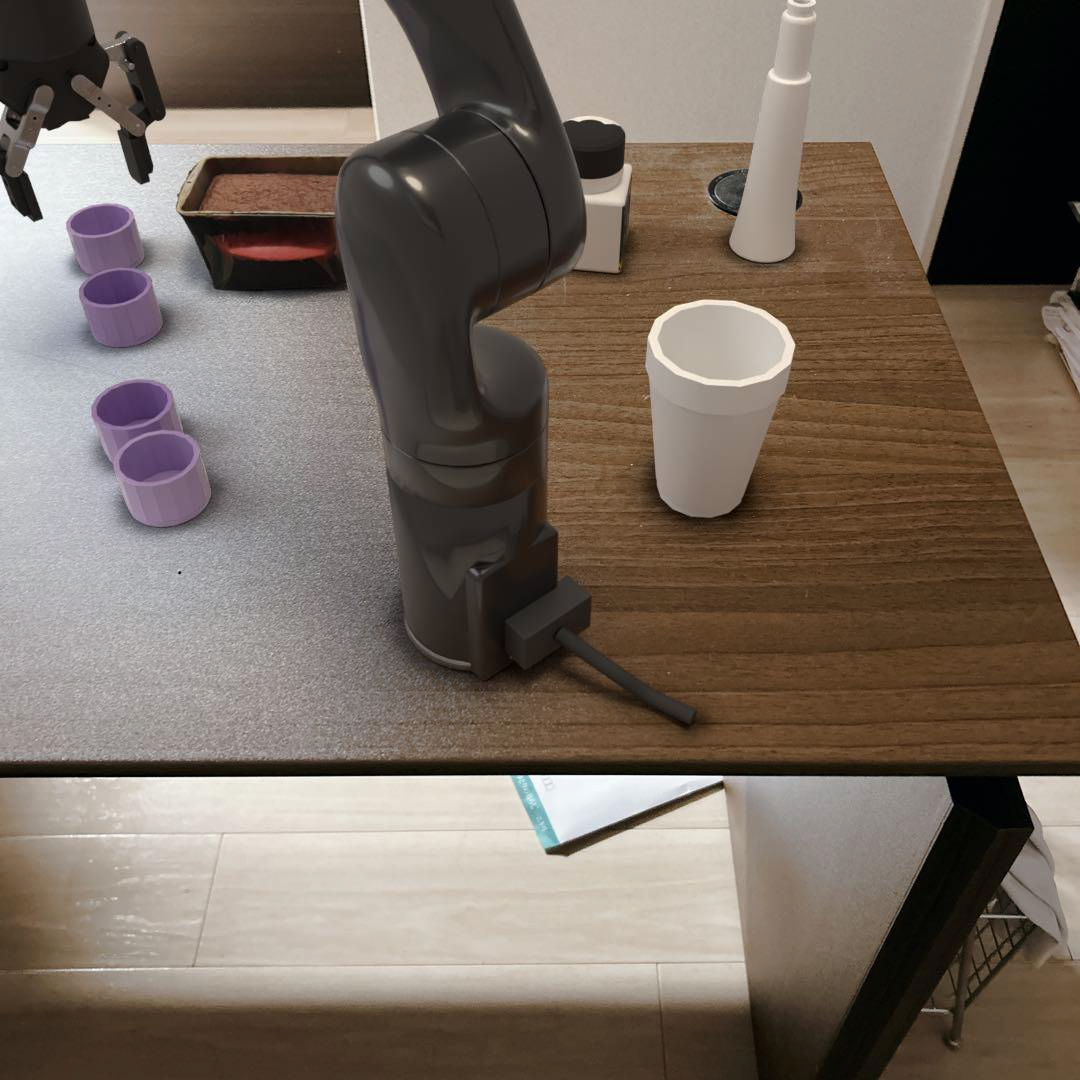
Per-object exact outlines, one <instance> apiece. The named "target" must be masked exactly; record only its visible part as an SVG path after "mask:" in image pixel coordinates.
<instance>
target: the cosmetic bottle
mask: <svg viewBox="0 0 1080 1080" xmlns="http://www.w3.org/2000/svg"><path fill="white" fill-rule="evenodd" d="M816 6H817V1H816V0H787V1H786V9H785V10H784V11H783V12H782V14H781V18H780V26H779V30H778V31H779V32H778V39H777V45H776V51H775V58H774V64H773V67H772V68H771V69H770V70H769V71H768V72H767V76H766V79H765V80H766V81H765V84H764V89H763V94H762V99H761V105H760V108H759V115H758V118H757V119H758V120H757V125H756V129H755V135H754V141H753V146H752V151H751V156H750V161H749V164H748V170H747V175H746V180H745V185H744V190H743V193H742V197H741V200H740V204H739V209H738V212H737V216H736V219H735V222H734V225H733V227H732V232H731V234H730V236H729V241H728V243H729V247H730V248H731V250H732V252H734V253H735V254H736V255H737V256H739V257H740V258H743V259H745V260H748V261H751V262H756V263H764V264H765V263H767V264H769V263H777V262H781V261H783V260H786V259H788V258H789V257H790V256H791V255H792V254H793V253H794V251H795V249H796V213H797V199H798V188H799V179H800V172H801V171H800V170H801V164H802V157H803V156H802V155H803V149H804V143H805V142H804V141H805V133H806V126H807V119H808V110H809V104H810V95H811V86H812V74H811V73H810V72H809V67H810V60H811V54H812V48H813V43H814V38H815V37H814V36H815V33H816V32H815V31H816V24H817V20H818V18H817V13H816V11H814V10H815V9H816Z"/></svg>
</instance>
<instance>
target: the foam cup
mask: <svg viewBox="0 0 1080 1080" xmlns="http://www.w3.org/2000/svg"><path fill="white" fill-rule="evenodd" d="M795 349H796V343H795V340H794V338H793V337H792V335H791V333H790V331H789V329H788V327H787V325H786V324H784V323H783V322H782V321H780V320H779V319H777V318H776V317H774V316H773V315H772V314H770V313H769V312H767V311H766V310H765V309H762V308H759V307H756V306H752V305H749V304H746V303H742V302H739V301H736V300H723V299H722V300H721V299H699V300H694V301H690V302H687V303H686V302H685V303H681V304H677V305H674V306H673V307H671V308H670V309H668V310H667V311H666V312H663V314H661V315H659V316H658V317H656V318H655V319H654V321H653V324H652V326H651V329H650V332H649V333H648V336H647V342H646V353H645V354H646V355H645V364H644V365H645V366H644V367H645V370H646V373H647V376H648V383H649V397H650V412H651V424H652V438H653V440H652V441H653V453H654V455H653V456H654V469H655V479H656V487H657V490H658V494H659V496H660V499H661V500H662V501H663V502H665V504H667V506H668V507H670V508H671V509H672V510H674V511H676V512H679V513H681V514H684V515H686V516H689V517H692V518H693V517H694V518H695V517H696V518H708V519H709V518H714V517H718V516H722V515H725V514H729V513H730V512H731V511H732V510H734V509H735V508H736V507H737V506H739V505H740V504H741V503H742V499H743V497H744V495H745V492H746V491H747V487H748V484H749V481H750V479H751V476H752V474H753V471H754V468H755V465H756V463H757V460H758V458H759V454H760V452H761V449H762V447H763V444H764V441H765V438H766V436H767V433H768V430H769V427H770V424H771V422H772V419H773V417H774V415H775V411H776V408H777V405H778V403H779V401H780V397H781V396H783V395H784V394H785V393H786V389H787V385H788V381H789V378H790V373H791V369H792V363H793V358H794V355H795V354H794V353H795Z"/></svg>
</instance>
